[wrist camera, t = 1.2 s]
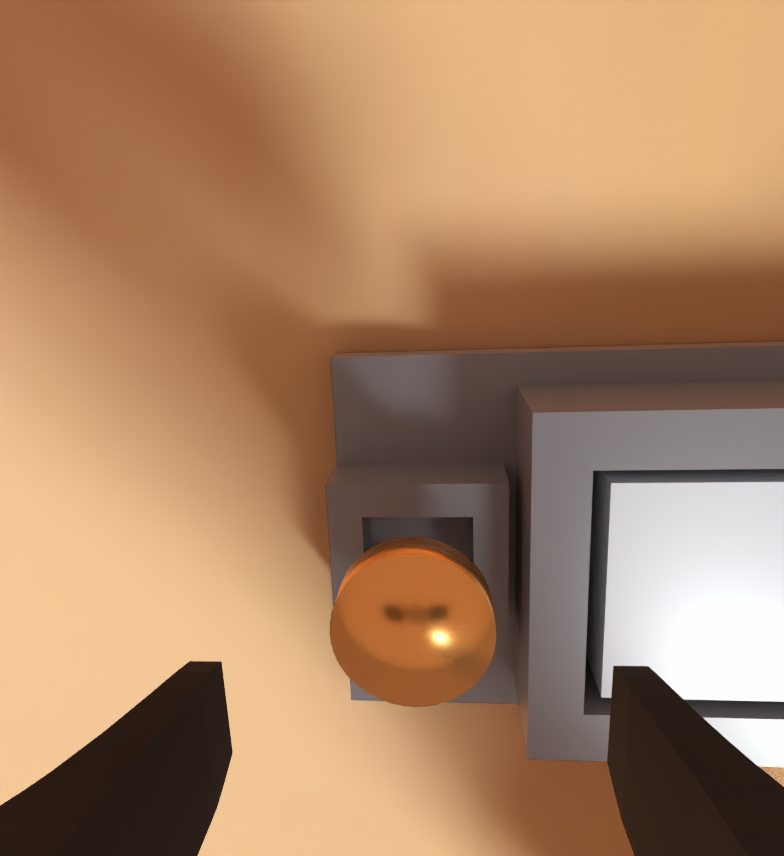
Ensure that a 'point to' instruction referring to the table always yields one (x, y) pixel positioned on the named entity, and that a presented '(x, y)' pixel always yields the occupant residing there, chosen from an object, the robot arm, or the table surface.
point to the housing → (543, 494)
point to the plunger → (413, 622)
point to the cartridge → (689, 580)
